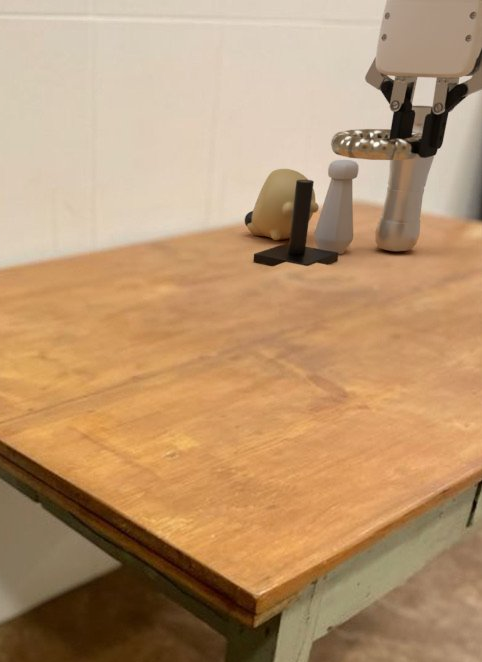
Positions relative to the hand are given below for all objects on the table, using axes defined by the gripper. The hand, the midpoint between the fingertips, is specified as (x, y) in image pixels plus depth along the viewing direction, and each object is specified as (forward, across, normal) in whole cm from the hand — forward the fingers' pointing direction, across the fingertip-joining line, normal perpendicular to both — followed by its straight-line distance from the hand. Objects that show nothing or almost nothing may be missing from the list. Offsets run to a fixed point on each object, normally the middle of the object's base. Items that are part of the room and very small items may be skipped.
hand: (413, 153), depth 84 cm
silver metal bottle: (+19, +15, -37) cm, 44 cm away
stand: (+19, +23, -21) cm, 37 cm away
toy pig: (+19, +33, -32) cm, 50 cm away
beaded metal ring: (-1, +4, 0) cm, 4 cm away
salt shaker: (+19, +22, -30) cm, 42 cm away
